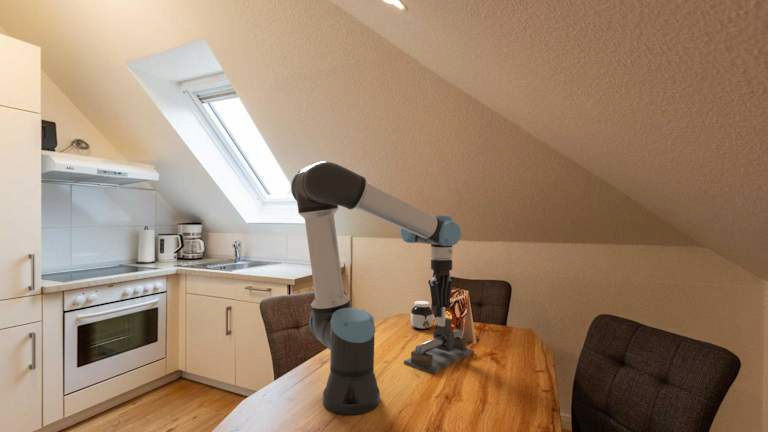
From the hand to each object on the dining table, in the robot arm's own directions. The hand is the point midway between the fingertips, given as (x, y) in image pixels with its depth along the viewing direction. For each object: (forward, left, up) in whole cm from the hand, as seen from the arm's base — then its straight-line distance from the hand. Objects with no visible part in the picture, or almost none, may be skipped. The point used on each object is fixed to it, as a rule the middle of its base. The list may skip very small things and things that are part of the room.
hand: (440, 325), depth 129 cm
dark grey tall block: (+2, 0, -9) cm, 9 cm away
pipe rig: (0, 0, -12) cm, 12 cm away
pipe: (0, 0, -7) cm, 7 cm away
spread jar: (+27, +27, -12) cm, 40 cm away
